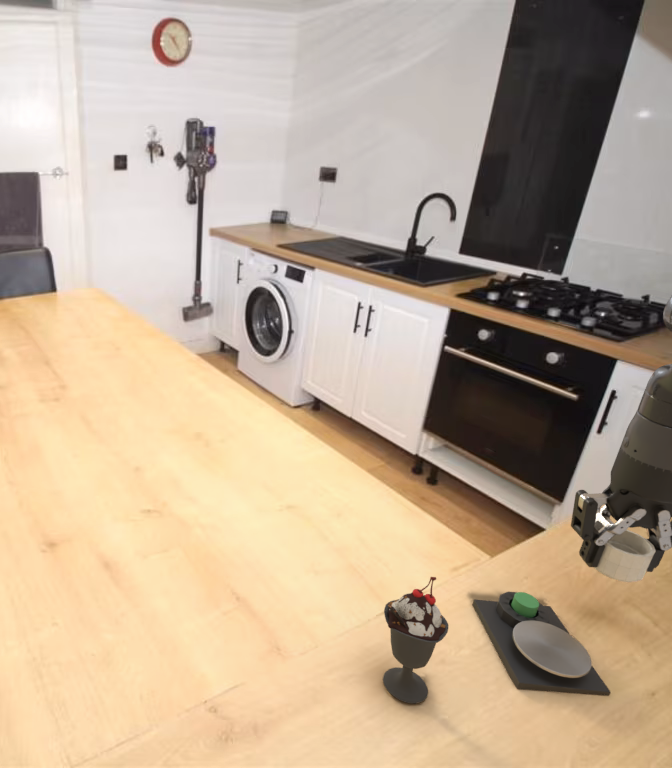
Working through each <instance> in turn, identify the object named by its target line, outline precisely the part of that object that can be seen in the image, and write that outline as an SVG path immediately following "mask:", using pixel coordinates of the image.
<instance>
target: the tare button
mask: <svg viewBox="0 0 672 768" xmlns="http://www.w3.org/2000/svg"><path fill="white" fill-rule="evenodd" d="M516 592H517V593H516V594H515V595H514V598H513V601H512V604H511V607H512V609H513V610H514V611H515V612H516V613H518V614H519V615H522V616H524V617H527V618H532V617H534V616H535V615H536V612H537V610H538V607H539V603H540V602H539V601H538V599H537V597H535V596H533V595H532V594H530V593H528V592H524V591H516Z"/></svg>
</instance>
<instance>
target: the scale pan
mask: <svg viewBox="0 0 672 768" xmlns="http://www.w3.org/2000/svg"><path fill="white" fill-rule="evenodd" d="M512 636H513V640H514V643H515V645H516V646H517V648H518V649H519V651H520V652H521V653H522V654H523V655H524V656H525V657H526V658H527V659H528V660H530V661H531V662H532V663H534V664H535V665H537V666H538V667H540V668H542V669H544V670H546V671H548V672H550V673H552V674H555V675H558V676H562V677H568V678H578V677H582V676H585V675H586V674H588V672H589V671H590V669H591V665H592V664H593V663H592V658H591V655H590V653H589V652H588V650H587V649H586V648H585V646H584V645H583V644H582V643H581V642H580V641H579V640H578V639H577V638H575V637H574V636H573V635H572V634H570V633H569V634H568V633H567V632H565V631H564V630H562V629H560V628H558V627H556V626H553V625H551V624H548V623H544V622H540V621H532V620H529V621H522V622H520V623H518V624H517V625H516V626H515V627H514V629H513V634H512ZM592 666H593V665H592Z"/></svg>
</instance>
